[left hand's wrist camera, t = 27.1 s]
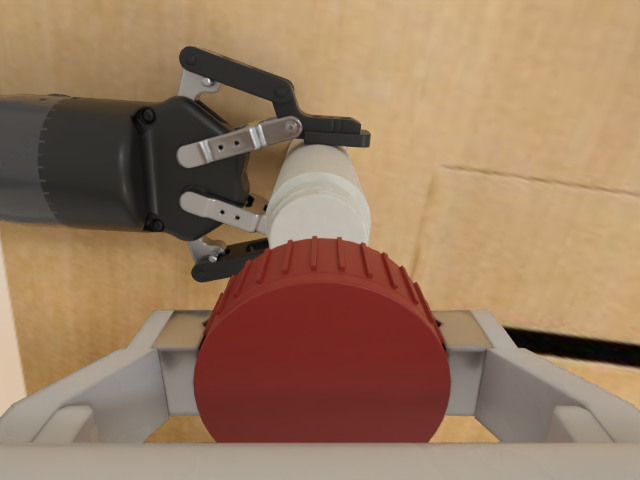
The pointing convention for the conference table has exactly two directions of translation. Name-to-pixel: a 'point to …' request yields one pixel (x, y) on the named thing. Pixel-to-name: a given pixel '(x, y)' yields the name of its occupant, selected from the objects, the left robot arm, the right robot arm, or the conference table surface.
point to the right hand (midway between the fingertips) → (362, 181)
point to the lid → (322, 351)
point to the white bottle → (317, 197)
